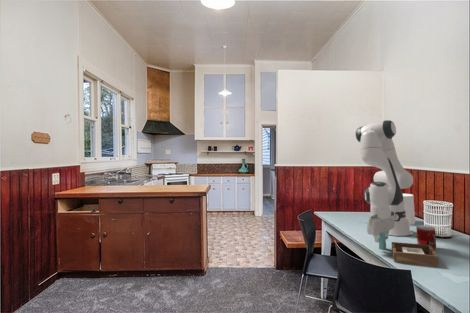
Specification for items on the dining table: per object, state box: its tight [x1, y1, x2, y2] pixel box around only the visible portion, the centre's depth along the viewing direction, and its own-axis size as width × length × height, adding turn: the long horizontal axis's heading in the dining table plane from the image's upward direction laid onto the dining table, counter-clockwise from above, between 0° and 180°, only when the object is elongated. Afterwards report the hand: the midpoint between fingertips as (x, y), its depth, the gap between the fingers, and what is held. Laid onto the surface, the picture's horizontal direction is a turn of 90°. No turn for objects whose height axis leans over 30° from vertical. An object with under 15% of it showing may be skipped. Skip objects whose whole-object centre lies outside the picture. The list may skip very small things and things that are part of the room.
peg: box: [378, 227, 387, 251], centre depth 137 cm, size 3×3×12 cm
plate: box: [402, 247, 424, 254], centre depth 123 cm, size 8×8×4 cm
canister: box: [402, 193, 416, 226], centre depth 191 cm, size 16×16×20 cm
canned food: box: [416, 224, 437, 251], centre depth 136 cm, size 8×8×11 cm
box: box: [391, 241, 439, 268], centre depth 123 cm, size 16×16×5 cm
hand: (381, 240), depth 137 cm, fingers open, 7 cm apart
